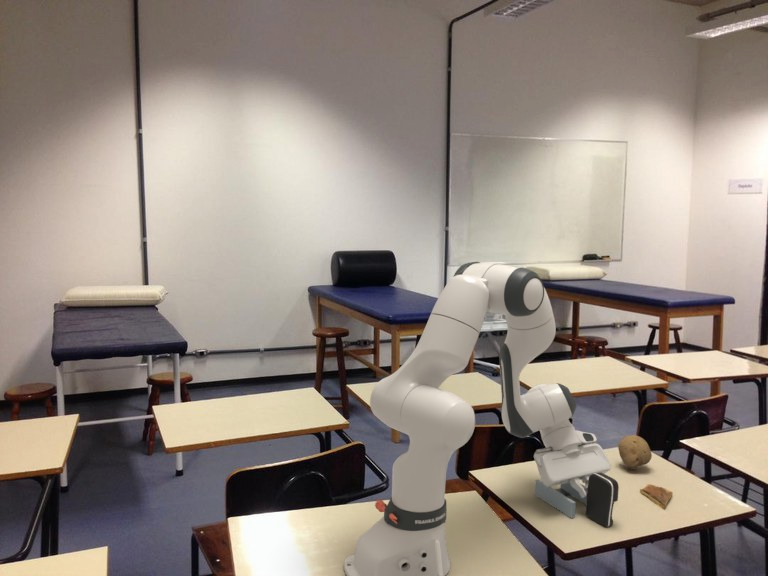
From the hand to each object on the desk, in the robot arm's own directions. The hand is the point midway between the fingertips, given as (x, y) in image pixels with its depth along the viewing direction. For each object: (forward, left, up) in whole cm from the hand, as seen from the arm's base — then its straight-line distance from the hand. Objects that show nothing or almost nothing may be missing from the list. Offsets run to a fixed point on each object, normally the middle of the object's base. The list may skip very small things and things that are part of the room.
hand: (588, 496), depth 157 cm
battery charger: (+1, -4, -5) cm, 6 cm away
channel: (0, +7, -5) cm, 9 cm away
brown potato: (+33, +16, -5) cm, 37 cm away
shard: (+25, -1, -6) cm, 26 cm away
